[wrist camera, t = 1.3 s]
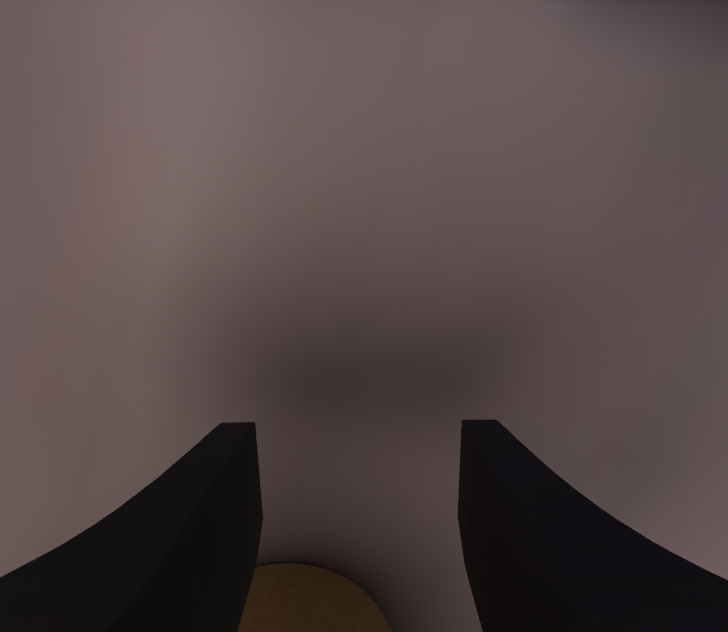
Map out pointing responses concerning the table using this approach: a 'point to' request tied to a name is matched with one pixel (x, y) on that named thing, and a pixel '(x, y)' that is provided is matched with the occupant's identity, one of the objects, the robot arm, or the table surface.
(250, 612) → the plant pot
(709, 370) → the table surface
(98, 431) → the table surface
